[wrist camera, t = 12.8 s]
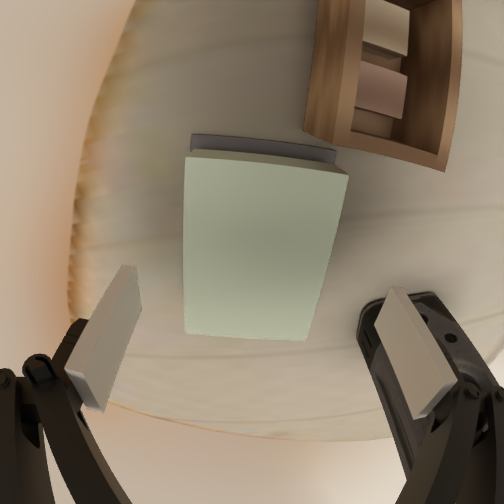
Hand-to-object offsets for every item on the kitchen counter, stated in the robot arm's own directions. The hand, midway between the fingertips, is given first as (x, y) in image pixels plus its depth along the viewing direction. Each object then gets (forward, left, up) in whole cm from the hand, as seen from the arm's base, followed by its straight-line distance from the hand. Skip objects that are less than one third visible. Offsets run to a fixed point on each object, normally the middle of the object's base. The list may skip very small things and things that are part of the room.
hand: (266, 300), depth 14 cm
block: (0, 0, -7) cm, 7 cm away
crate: (-14, +6, -9) cm, 17 cm away
